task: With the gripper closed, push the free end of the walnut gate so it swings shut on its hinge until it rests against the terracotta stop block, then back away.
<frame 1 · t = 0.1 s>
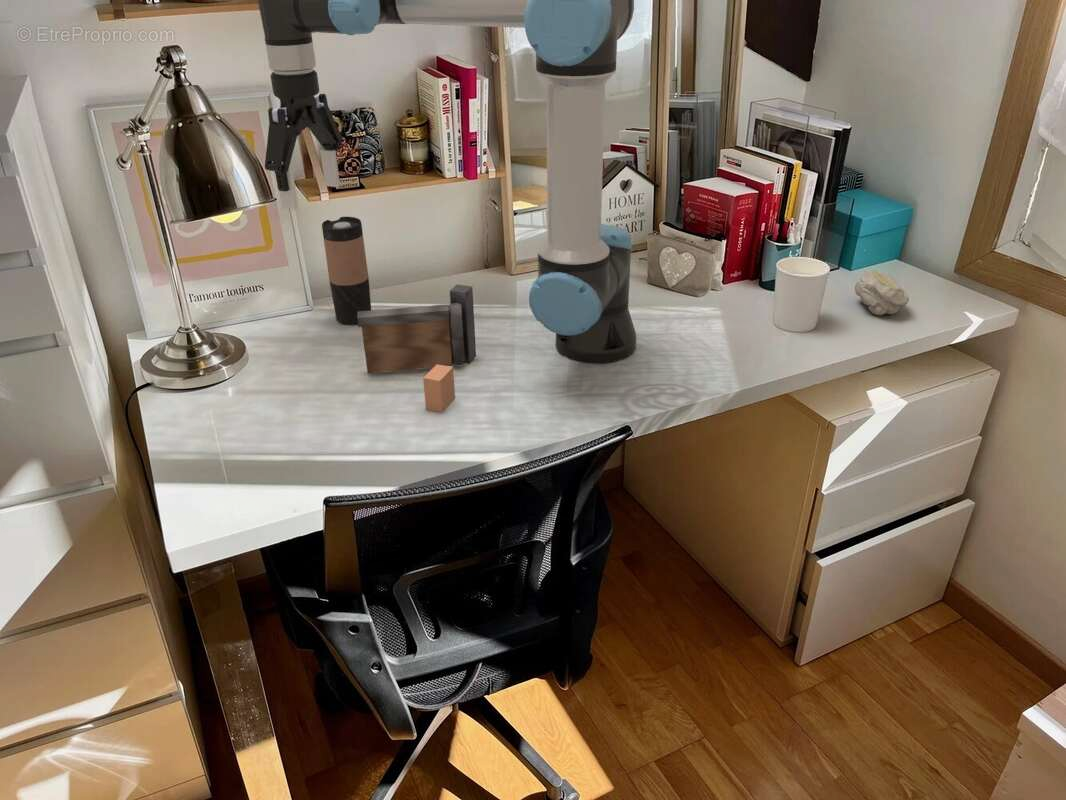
hand: (312, 197, 152), 28 cm above the table, tool pointing down, fingers open, 13 cm apart
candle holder: (794, 324, 168), on the table
hinge post: (465, 359, 157), on the table
walnut gate: (412, 338, 151), point 6 cm above the table, hinge at -60.0°
travel mug: (354, 318, 174), on the table
stop block: (440, 403, 144), on the table
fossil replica: (876, 310, 173), on the table
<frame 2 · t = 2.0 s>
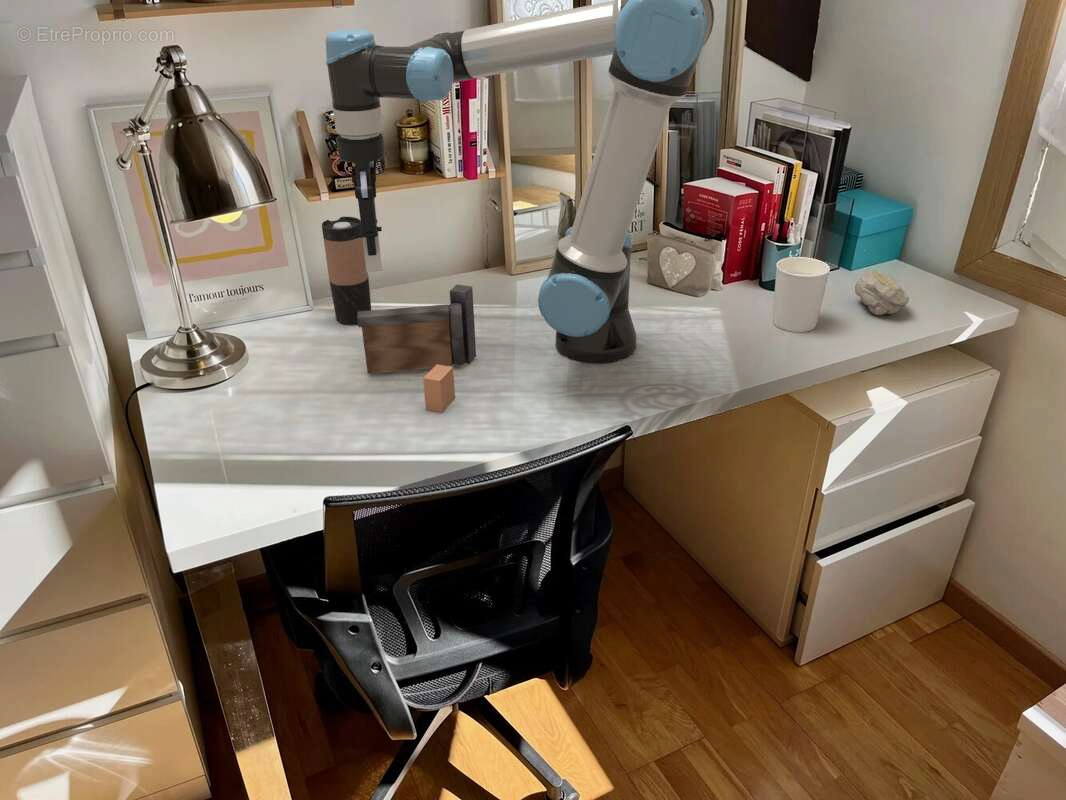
hand: (374, 269, 151), 17 cm above the table, tool pointing down, fingers closed
nothing on the table moved.
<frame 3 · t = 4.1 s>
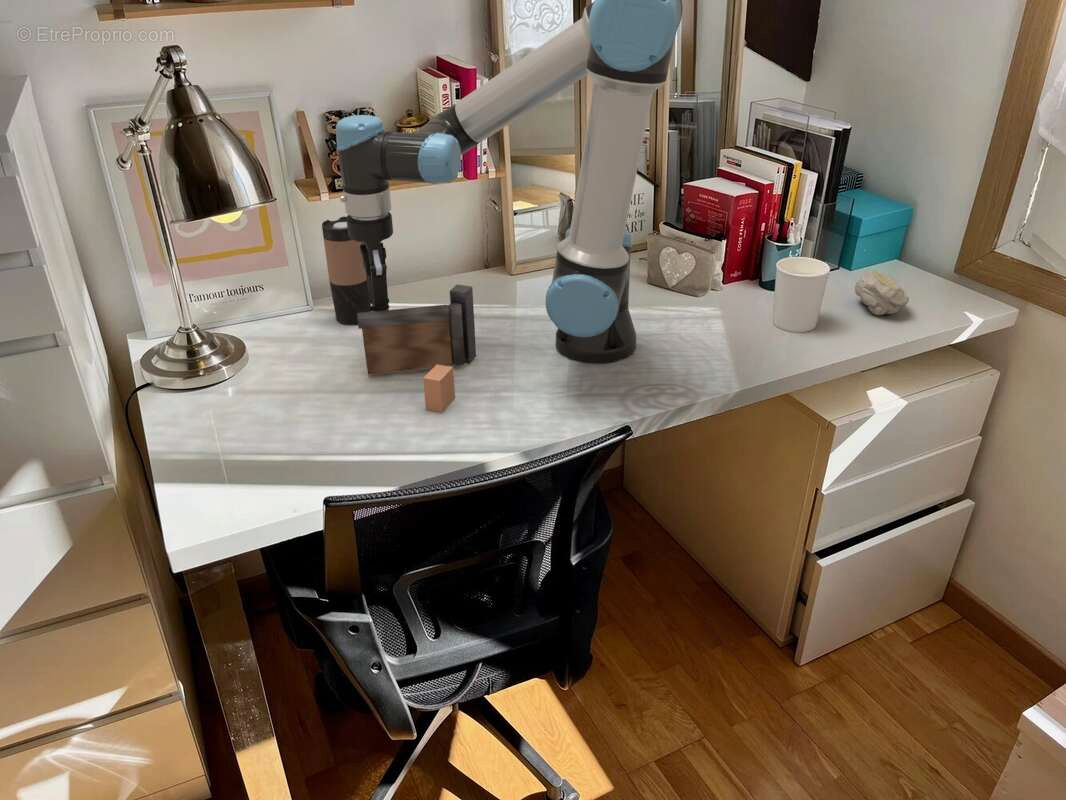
hand: (382, 339, 155), 5 cm above the table, tool pointing down, fingers closed
walnut gate: (412, 339, 150), point 6 cm above the table, hinge at -58.1°, touching gripper
everything else where it was.
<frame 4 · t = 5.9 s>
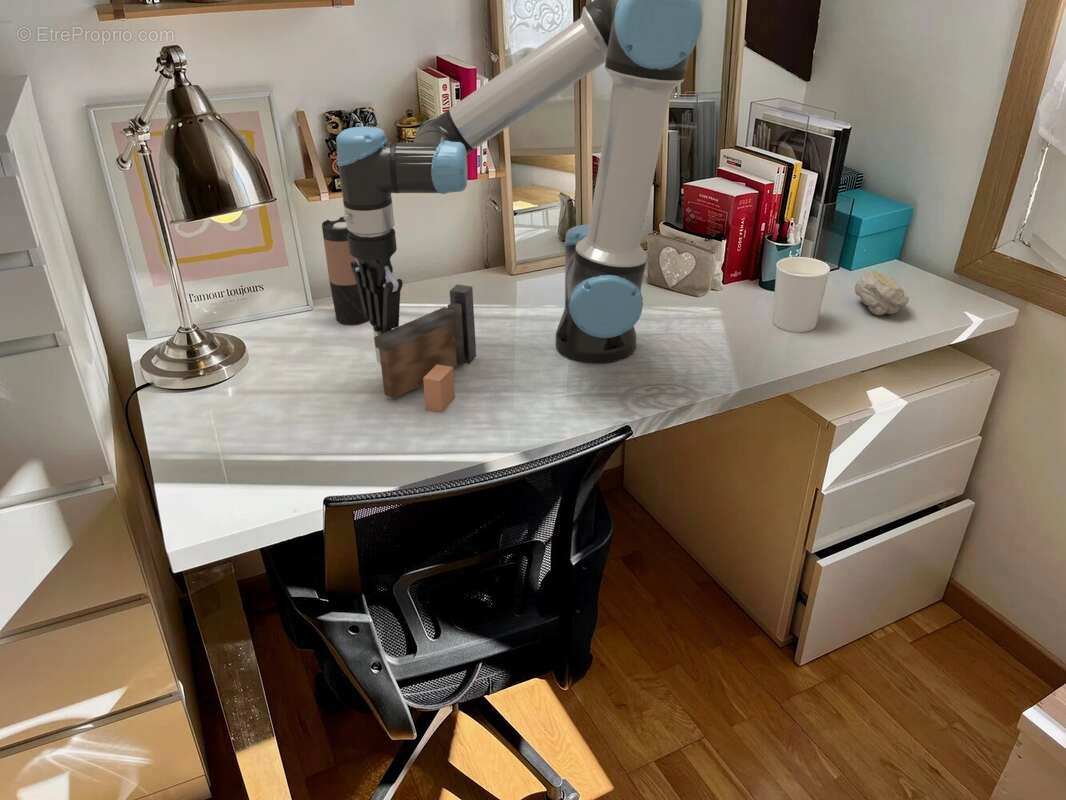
hand: (385, 360, 148), 5 cm above the table, tool pointing down, fingers closed
walnut gate: (423, 349, 147), point 6 cm above the table, hinge at -21.5°, touching gripper
everything else where it was.
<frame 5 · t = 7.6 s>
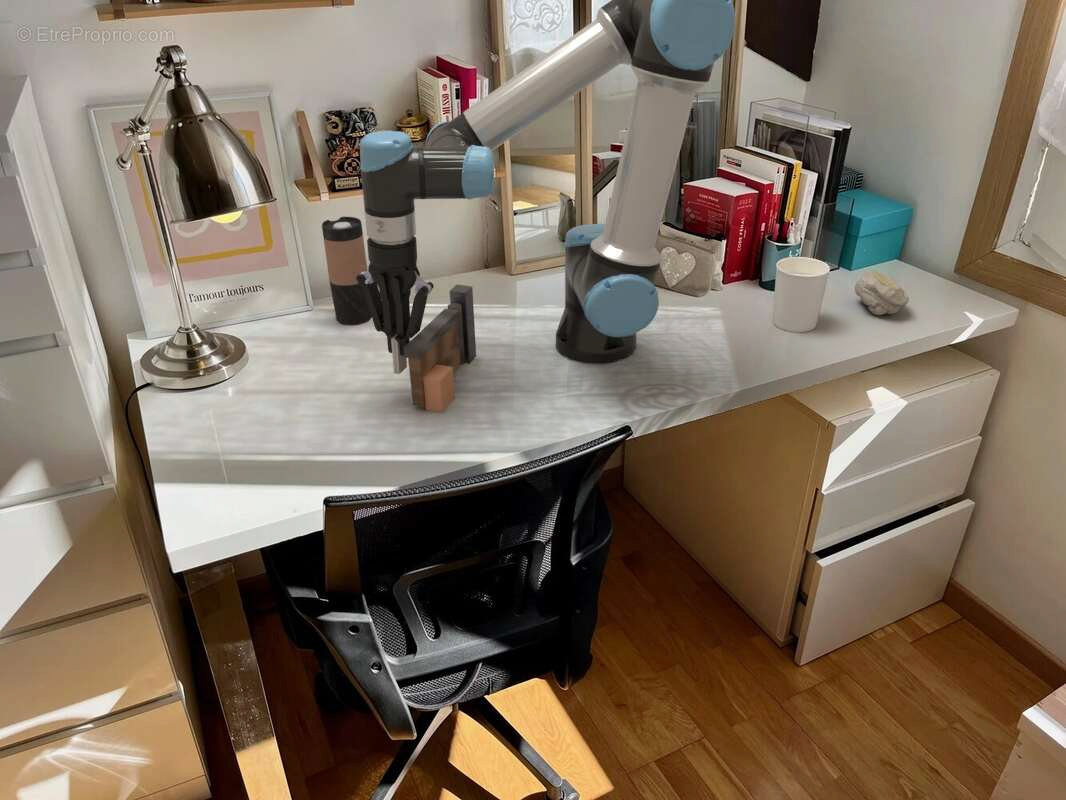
hand: (400, 370, 144), 5 cm above the table, tool pointing down, fingers closed
walnut gate: (437, 353, 145), point 6 cm above the table, hinge at 1.1°, touching gripper, stop block
everything else where it was.
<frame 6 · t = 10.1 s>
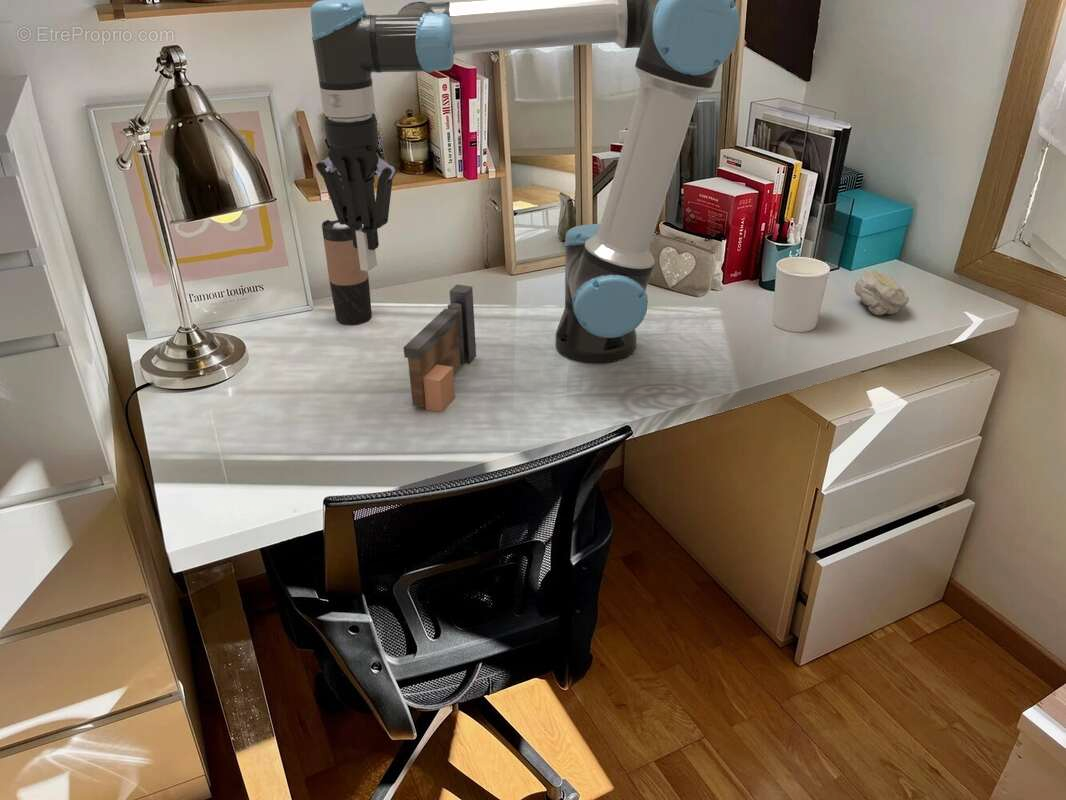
hand: (368, 267, 137), 22 cm above the table, tool pointing down, fingers closed
walnut gate: (437, 353, 145), point 6 cm above the table, hinge at 1.0°
everything else where it was.
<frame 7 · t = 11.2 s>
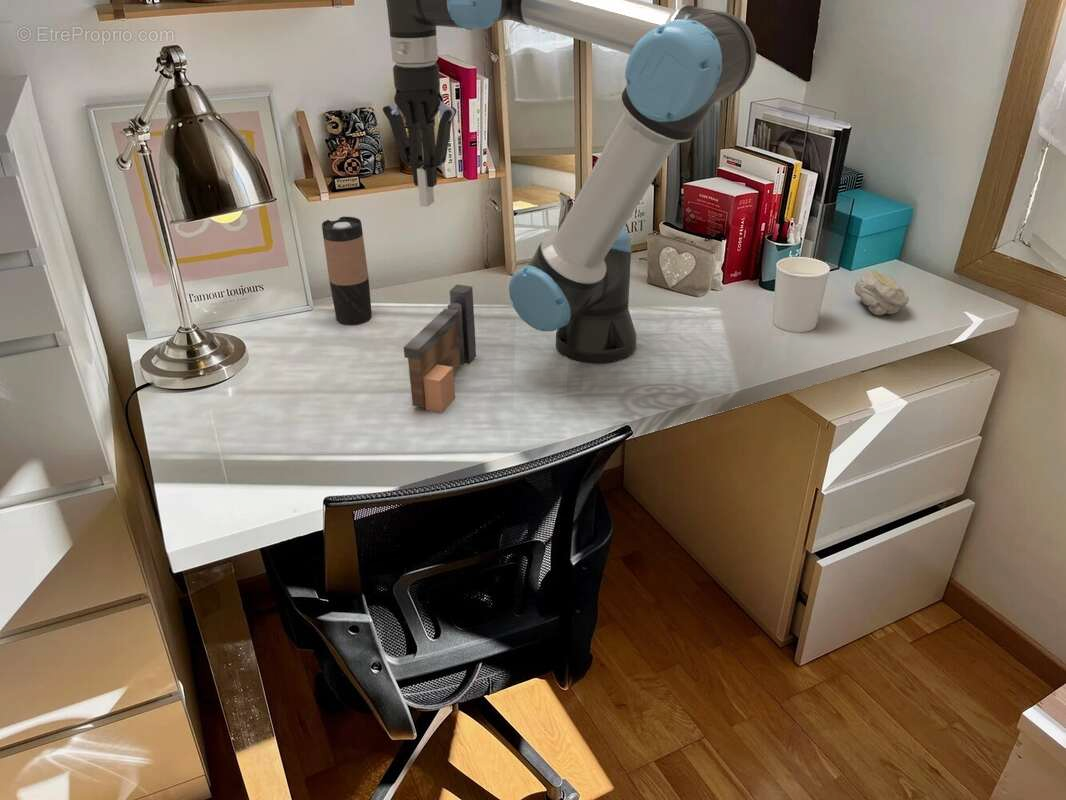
hand: (427, 203, 152), 26 cm above the table, tool pointing down, fingers closed
nothing on the table moved.
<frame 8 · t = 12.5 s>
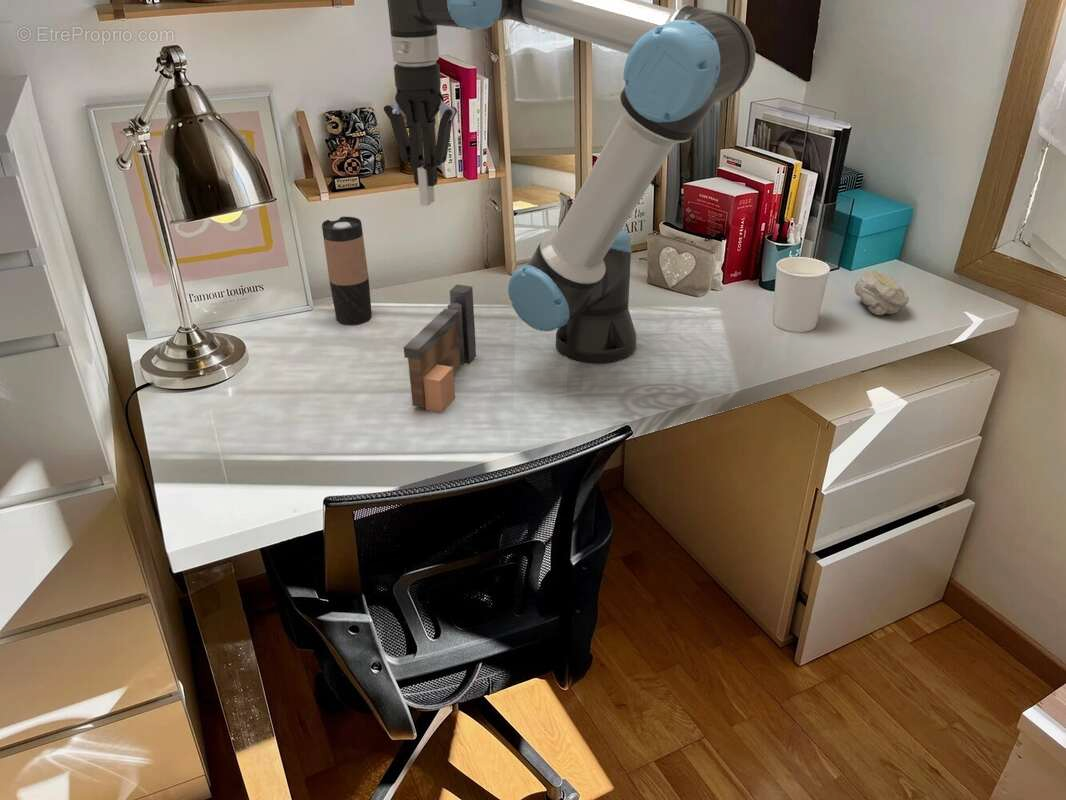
hand: (427, 202, 152), 26 cm above the table, tool pointing down, fingers closed
nothing on the table moved.
at the end: walnut gate at +1° (first picture: -60°); travel mug moved 0.2 cm from its start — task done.
